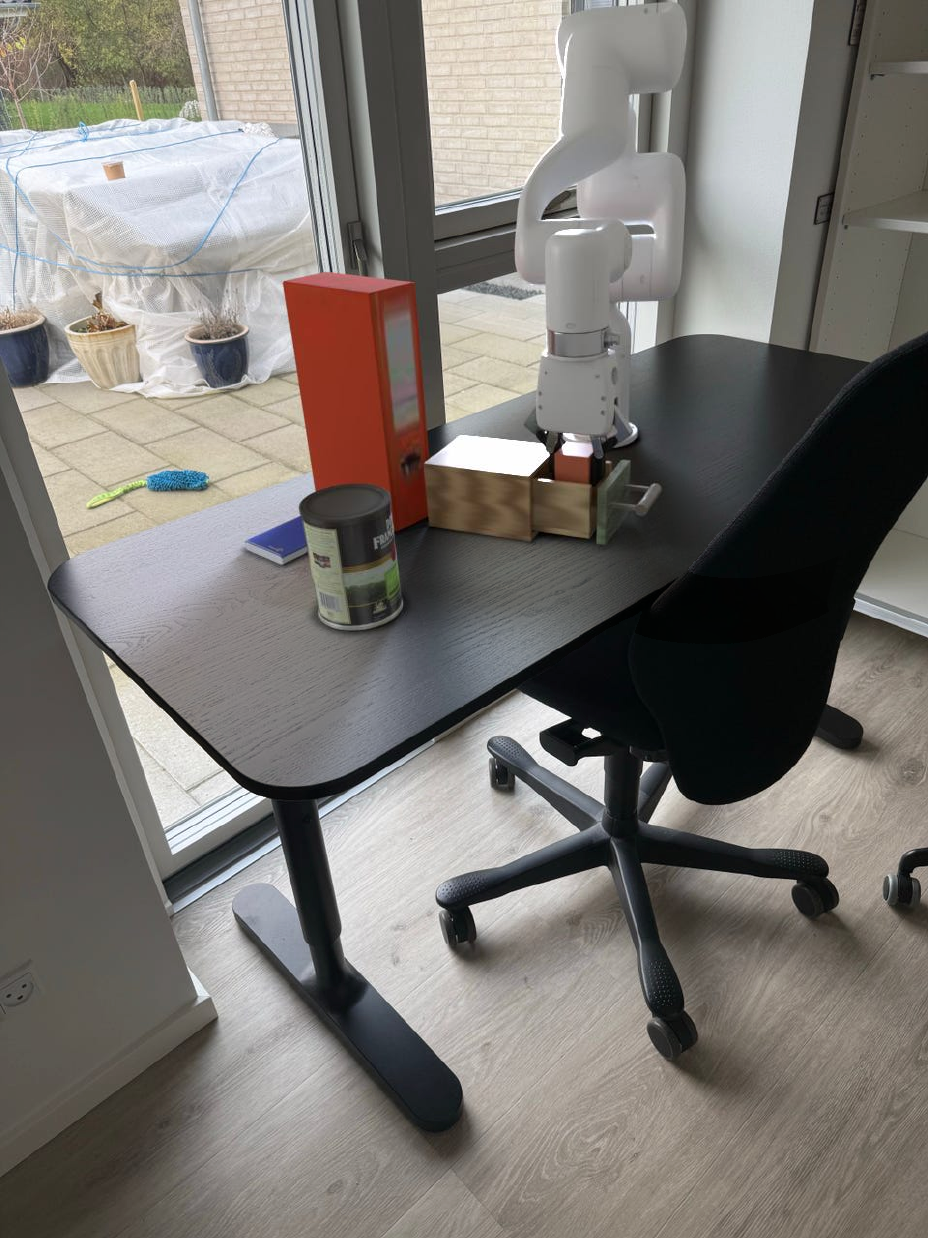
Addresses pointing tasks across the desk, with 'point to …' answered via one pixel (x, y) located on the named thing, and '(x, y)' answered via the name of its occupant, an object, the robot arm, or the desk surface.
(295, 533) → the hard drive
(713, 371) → the desk surface
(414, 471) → the file binder
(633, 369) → the desk surface
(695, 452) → the desk surface
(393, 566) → the coffee can
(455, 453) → the cabinet
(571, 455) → the block
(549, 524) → the drawer
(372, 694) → the desk surface
